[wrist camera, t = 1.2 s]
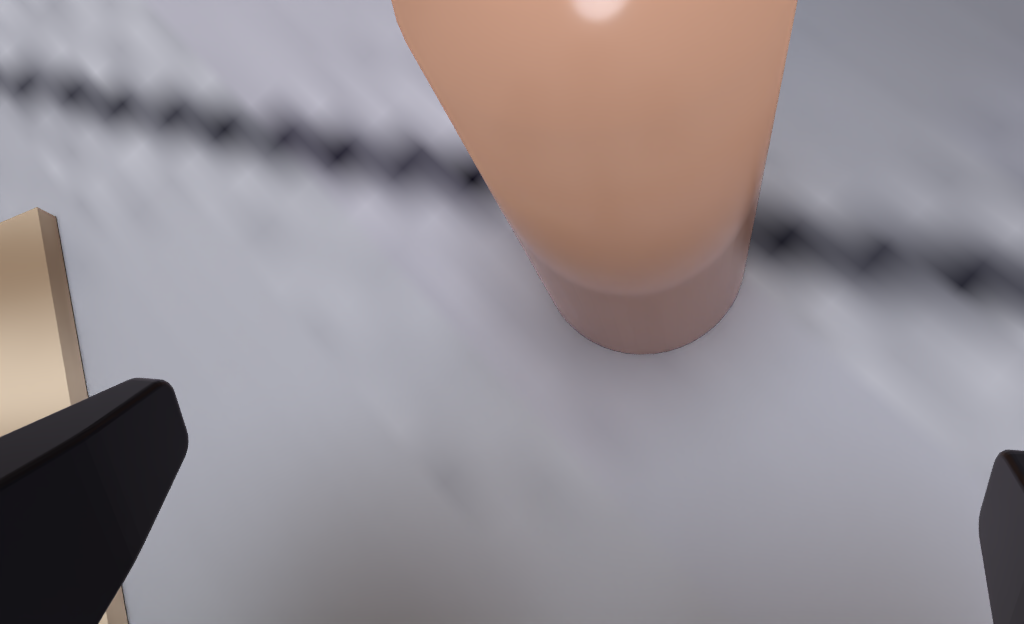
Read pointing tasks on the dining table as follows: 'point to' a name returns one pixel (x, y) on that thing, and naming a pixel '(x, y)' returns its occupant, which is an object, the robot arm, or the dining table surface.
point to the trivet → (38, 334)
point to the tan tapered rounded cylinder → (616, 145)
